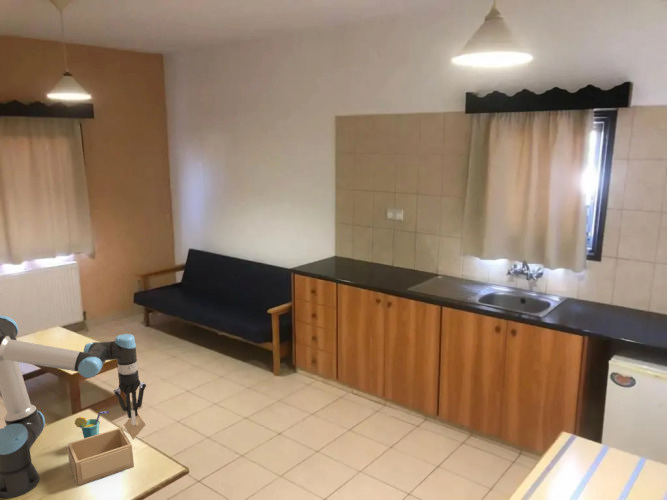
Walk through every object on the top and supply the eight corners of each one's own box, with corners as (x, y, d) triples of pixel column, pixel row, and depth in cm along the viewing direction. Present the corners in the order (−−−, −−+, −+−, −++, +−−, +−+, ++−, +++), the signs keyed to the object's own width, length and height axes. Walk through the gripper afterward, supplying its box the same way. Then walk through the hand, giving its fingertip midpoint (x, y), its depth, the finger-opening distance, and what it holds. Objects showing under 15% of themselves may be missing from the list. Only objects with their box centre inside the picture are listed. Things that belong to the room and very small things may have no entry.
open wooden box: (77, 487, 208) (74, 464, 206) (68, 465, 223) (66, 443, 221) (134, 467, 221) (132, 445, 219) (122, 447, 235) (120, 426, 233)
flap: (145, 424, 223) (146, 424, 223) (136, 410, 234) (136, 411, 234) (132, 439, 220) (133, 439, 221) (123, 425, 232) (124, 425, 232)
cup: (111, 436, 244) (108, 406, 241) (112, 445, 237) (108, 414, 234) (77, 444, 239) (73, 413, 236) (77, 453, 232) (73, 421, 229)
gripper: (114, 378, 215) (119, 432, 220) (146, 370, 223) (151, 422, 227) (109, 372, 221) (115, 424, 226) (141, 364, 229) (146, 415, 233)
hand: (133, 423), depth 227 cm, fingers closed
